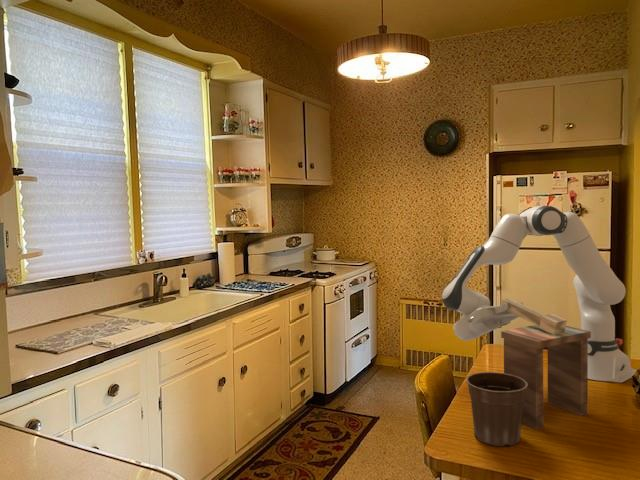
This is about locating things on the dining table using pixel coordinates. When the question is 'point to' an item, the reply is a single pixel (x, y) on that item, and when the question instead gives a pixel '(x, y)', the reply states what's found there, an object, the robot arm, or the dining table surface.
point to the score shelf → (549, 369)
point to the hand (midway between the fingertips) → (513, 304)
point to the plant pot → (497, 407)
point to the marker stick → (537, 317)
